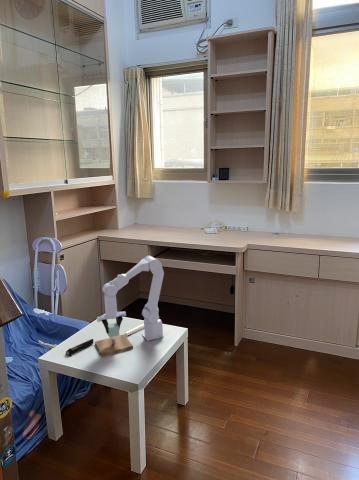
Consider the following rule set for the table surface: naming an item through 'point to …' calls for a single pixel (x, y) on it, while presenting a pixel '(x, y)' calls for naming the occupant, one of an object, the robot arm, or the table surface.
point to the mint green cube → (113, 330)
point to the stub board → (113, 345)
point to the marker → (134, 330)
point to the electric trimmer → (79, 347)
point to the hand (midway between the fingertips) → (112, 331)
